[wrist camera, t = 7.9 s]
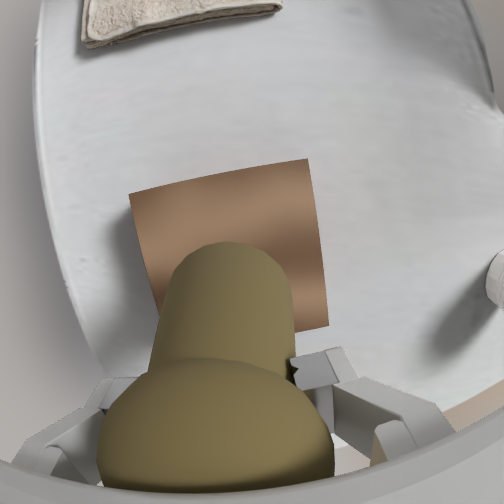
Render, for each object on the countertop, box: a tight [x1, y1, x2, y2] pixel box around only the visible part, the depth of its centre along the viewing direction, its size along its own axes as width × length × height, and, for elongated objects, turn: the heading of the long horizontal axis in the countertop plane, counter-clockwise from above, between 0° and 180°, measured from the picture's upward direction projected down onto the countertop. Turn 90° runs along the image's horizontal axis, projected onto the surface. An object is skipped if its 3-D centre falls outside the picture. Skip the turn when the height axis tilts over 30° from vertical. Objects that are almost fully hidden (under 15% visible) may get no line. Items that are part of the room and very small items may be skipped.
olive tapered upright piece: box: [96, 241, 335, 494], centre depth 9 cm, size 6×6×11 cm
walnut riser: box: [129, 159, 329, 333], centre depth 23 cm, size 12×12×5 cm
